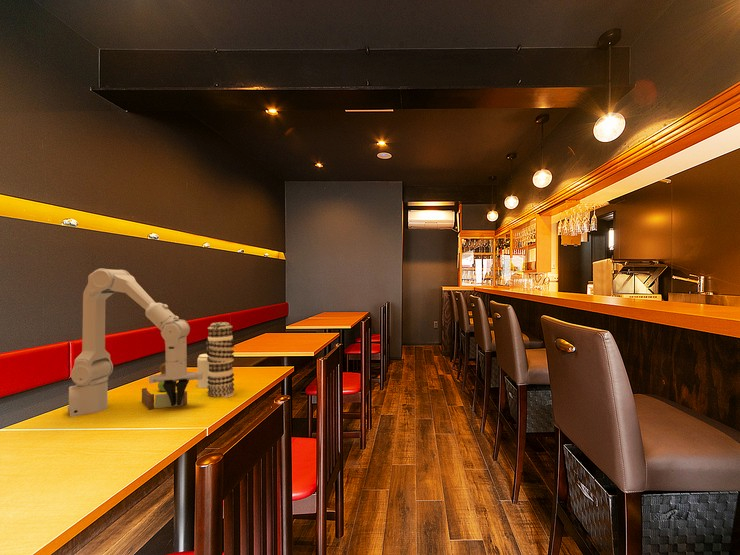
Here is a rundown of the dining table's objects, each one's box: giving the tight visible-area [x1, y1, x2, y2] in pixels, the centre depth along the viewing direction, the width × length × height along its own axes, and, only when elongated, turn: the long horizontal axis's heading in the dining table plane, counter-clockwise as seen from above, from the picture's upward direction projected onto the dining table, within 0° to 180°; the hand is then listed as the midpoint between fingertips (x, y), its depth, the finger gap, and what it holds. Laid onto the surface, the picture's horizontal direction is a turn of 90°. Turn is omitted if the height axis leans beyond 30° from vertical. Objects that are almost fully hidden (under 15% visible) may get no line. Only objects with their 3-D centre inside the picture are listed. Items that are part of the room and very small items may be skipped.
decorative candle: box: [205, 321, 235, 399], centre depth 124 cm, size 9×9×25 cm
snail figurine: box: [157, 362, 167, 393], centre depth 129 cm, size 5×6×12 cm
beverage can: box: [196, 353, 209, 389], centre depth 135 cm, size 8×8×12 cm
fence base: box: [141, 387, 155, 410], centre depth 113 cm, size 2×11×4 cm, turn 43°
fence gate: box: [154, 390, 188, 409], centre depth 112 cm, size 9×1×4 cm, turn 111°
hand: (176, 404), depth 110 cm, fingers closed
